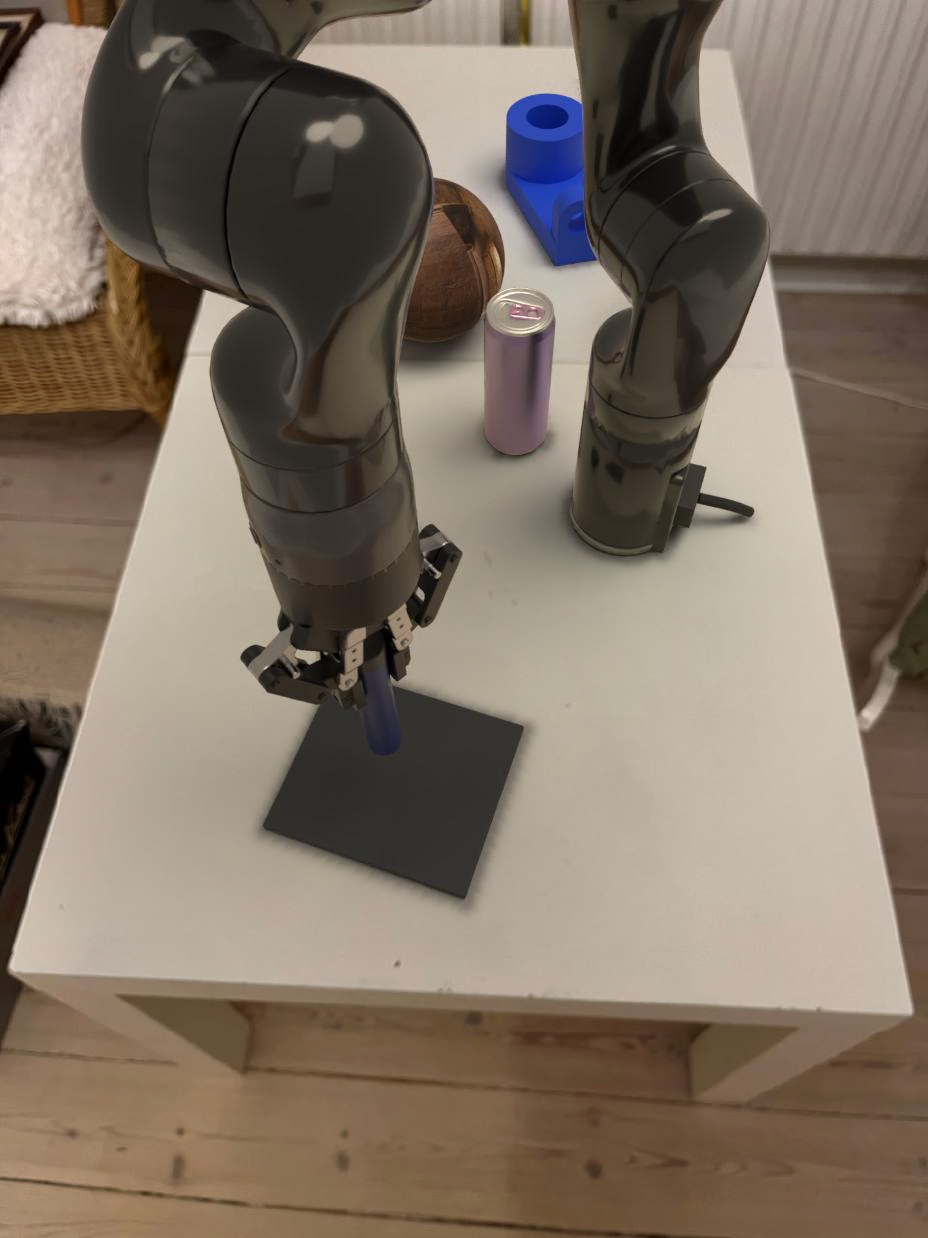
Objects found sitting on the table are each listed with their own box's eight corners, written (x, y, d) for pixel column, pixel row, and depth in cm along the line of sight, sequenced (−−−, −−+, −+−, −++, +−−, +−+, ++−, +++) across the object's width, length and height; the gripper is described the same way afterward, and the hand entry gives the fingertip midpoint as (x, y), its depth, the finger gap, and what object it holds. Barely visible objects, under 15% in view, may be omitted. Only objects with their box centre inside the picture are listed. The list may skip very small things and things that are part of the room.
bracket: (498, 162, 110) (498, 98, 103) (571, 152, 111) (576, 88, 104) (535, 268, 100) (538, 206, 94) (615, 256, 101) (624, 193, 94)
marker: (407, 729, 65) (391, 631, 53) (394, 761, 64) (374, 667, 52) (375, 719, 66) (351, 619, 53) (361, 750, 64) (334, 654, 52)
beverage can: (541, 462, 86) (550, 339, 73) (478, 453, 87) (477, 330, 74) (550, 415, 89) (561, 289, 76) (490, 407, 90) (491, 281, 77)
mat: (523, 729, 72) (524, 725, 72) (465, 899, 66) (464, 897, 65) (338, 671, 75) (337, 667, 75) (264, 828, 69) (262, 825, 68)
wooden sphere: (332, 316, 97) (309, 186, 84) (444, 255, 102) (438, 124, 89) (418, 396, 91) (407, 270, 78) (533, 328, 95) (540, 198, 82)
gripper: (252, 655, 38) (316, 797, 53) (502, 483, 43) (496, 659, 58) (160, 544, 41) (245, 708, 56) (403, 394, 46) (422, 583, 61)
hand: (372, 682), depth 57 cm, fingers closed on marker, 2 cm apart
